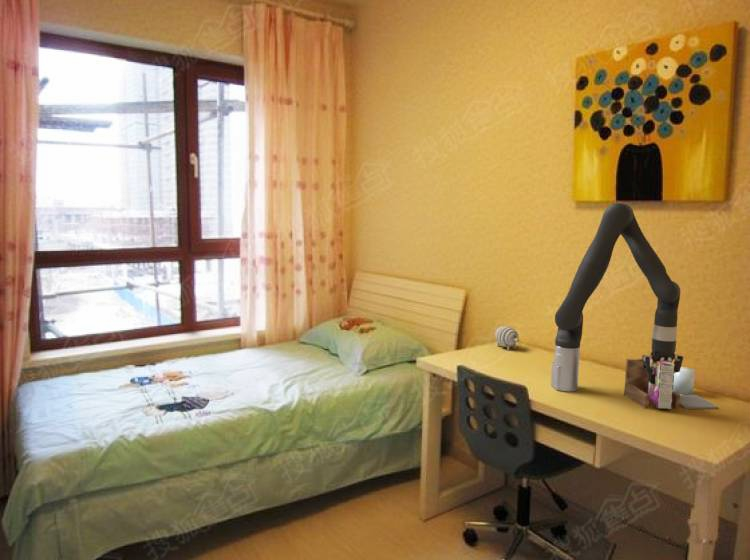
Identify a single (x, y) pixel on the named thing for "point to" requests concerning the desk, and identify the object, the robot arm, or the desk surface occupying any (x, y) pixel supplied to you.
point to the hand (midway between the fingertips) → (660, 383)
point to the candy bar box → (662, 385)
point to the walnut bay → (641, 384)
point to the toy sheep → (506, 337)
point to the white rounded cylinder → (684, 381)
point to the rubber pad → (695, 402)
